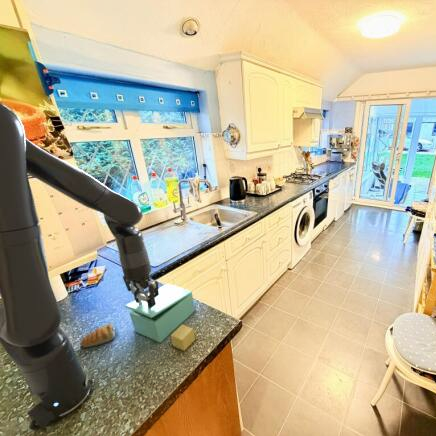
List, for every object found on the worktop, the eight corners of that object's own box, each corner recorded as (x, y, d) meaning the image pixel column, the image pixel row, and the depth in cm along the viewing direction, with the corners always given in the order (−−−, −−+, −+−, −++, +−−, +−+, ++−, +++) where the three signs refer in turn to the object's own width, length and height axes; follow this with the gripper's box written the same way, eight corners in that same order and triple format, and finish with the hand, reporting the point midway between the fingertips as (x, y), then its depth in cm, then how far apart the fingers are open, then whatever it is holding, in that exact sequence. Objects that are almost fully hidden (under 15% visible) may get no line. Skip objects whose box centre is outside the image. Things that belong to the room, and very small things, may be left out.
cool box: (160, 342, 81) (154, 323, 78) (135, 331, 86) (129, 312, 82) (195, 310, 96) (192, 293, 92) (172, 302, 100) (168, 285, 97)
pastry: (81, 353, 77) (78, 345, 76) (82, 340, 82) (78, 331, 81) (116, 338, 83) (113, 330, 81) (114, 326, 88) (112, 318, 86)
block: (184, 351, 78) (181, 340, 77) (173, 346, 80) (170, 335, 78) (195, 339, 83) (193, 328, 81) (184, 334, 84) (182, 324, 83)
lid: (151, 318, 76) (150, 304, 75) (125, 307, 81) (124, 294, 80) (191, 293, 92) (191, 281, 91) (168, 285, 97) (167, 274, 96)
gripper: (108, 262, 74) (121, 305, 80) (139, 272, 69) (151, 317, 75) (131, 251, 81) (141, 292, 87) (161, 260, 76) (170, 302, 82)
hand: (145, 303), depth 81 cm, fingers closed on lid, 5 cm apart
